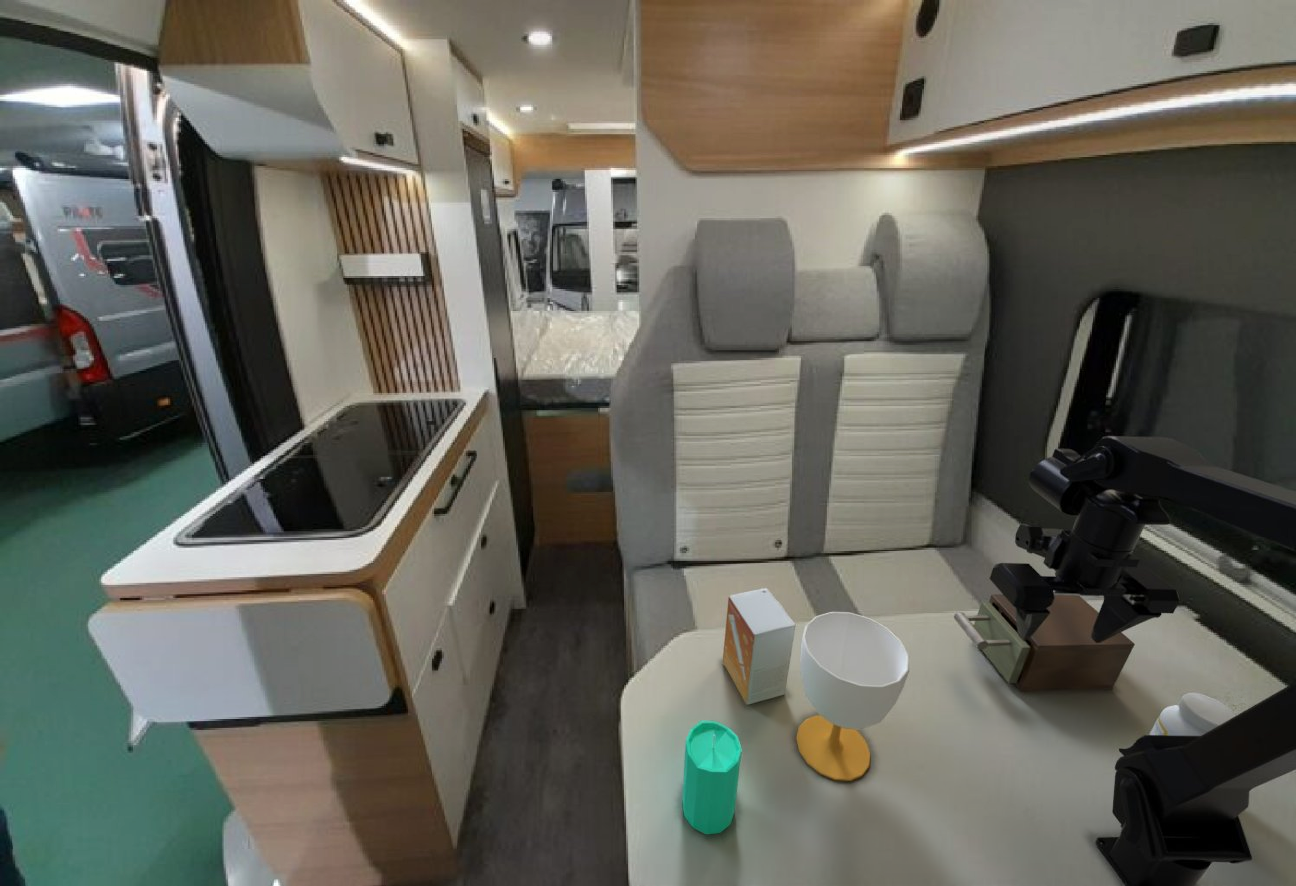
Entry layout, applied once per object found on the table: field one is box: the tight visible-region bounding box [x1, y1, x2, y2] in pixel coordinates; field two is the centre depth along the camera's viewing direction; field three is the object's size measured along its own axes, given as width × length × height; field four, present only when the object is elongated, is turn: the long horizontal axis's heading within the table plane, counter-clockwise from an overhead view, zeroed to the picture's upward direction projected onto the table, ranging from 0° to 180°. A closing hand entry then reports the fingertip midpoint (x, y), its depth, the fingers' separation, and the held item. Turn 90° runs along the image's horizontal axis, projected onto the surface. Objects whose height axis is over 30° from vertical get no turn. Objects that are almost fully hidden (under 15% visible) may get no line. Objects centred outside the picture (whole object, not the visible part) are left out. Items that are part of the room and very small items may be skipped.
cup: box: [795, 611, 910, 782], centre depth 65 cm, size 12×12×17 cm
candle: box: [681, 720, 743, 835], centre depth 59 cm, size 6×6×12 cm
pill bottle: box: [1148, 692, 1237, 736], centre depth 63 cm, size 6×6×12 cm
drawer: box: [953, 601, 1033, 684], centre depth 80 cm, size 18×9×7 cm, turn 92°
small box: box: [722, 587, 797, 706], centre depth 76 cm, size 8×6×13 cm
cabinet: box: [988, 593, 1136, 692], centre depth 80 cm, size 14×11×9 cm
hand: (1058, 639), depth 68 cm, fingers open, 9 cm apart
